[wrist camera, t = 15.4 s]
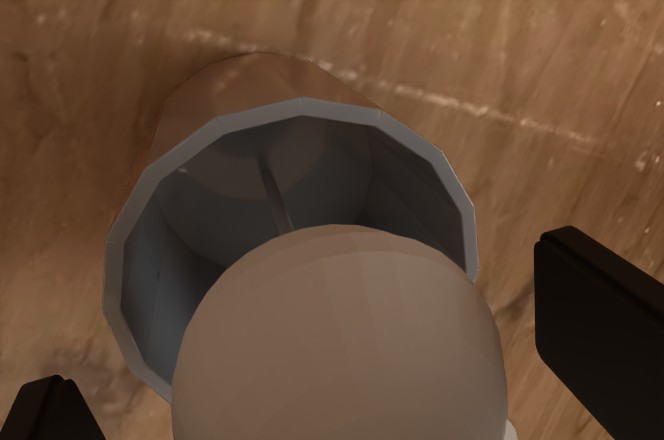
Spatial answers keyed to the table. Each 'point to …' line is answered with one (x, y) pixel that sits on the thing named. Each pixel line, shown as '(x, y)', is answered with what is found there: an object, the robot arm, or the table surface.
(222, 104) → the grey faceted cup
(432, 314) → the lollipop
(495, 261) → the table surface
